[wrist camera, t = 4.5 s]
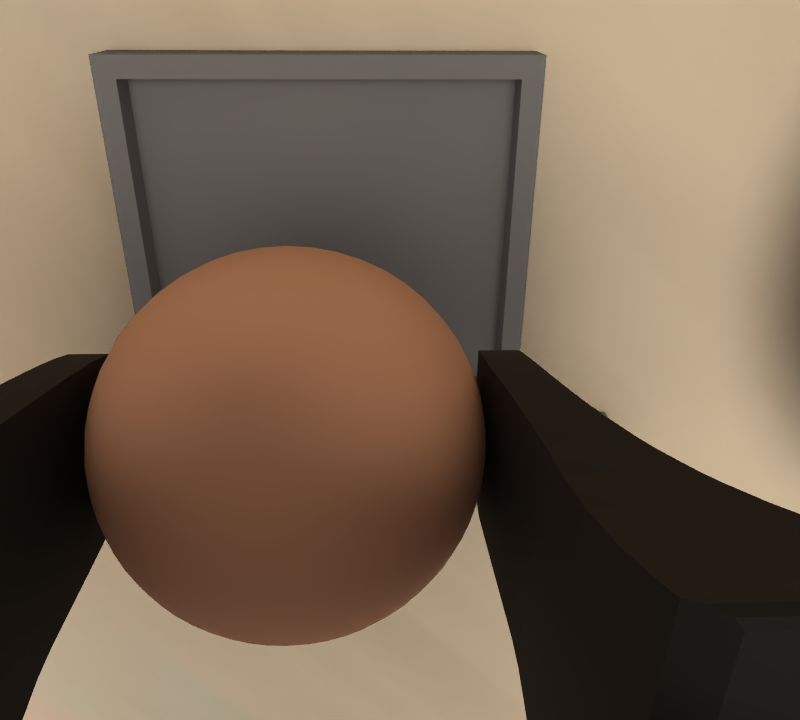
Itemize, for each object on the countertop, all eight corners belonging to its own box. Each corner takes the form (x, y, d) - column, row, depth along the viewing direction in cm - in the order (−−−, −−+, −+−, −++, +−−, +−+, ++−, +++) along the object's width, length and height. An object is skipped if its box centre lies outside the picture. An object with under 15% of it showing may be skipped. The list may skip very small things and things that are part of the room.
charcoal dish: (507, 384, 21) (514, 405, 20) (163, 388, 21) (152, 409, 20) (535, 51, 17) (546, 55, 16) (106, 50, 17) (88, 54, 16)
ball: (457, 476, 14) (500, 736, 9) (174, 481, 14) (66, 747, 9) (470, 199, 12) (540, 352, 7) (125, 200, 11) (-61, 358, 7)
